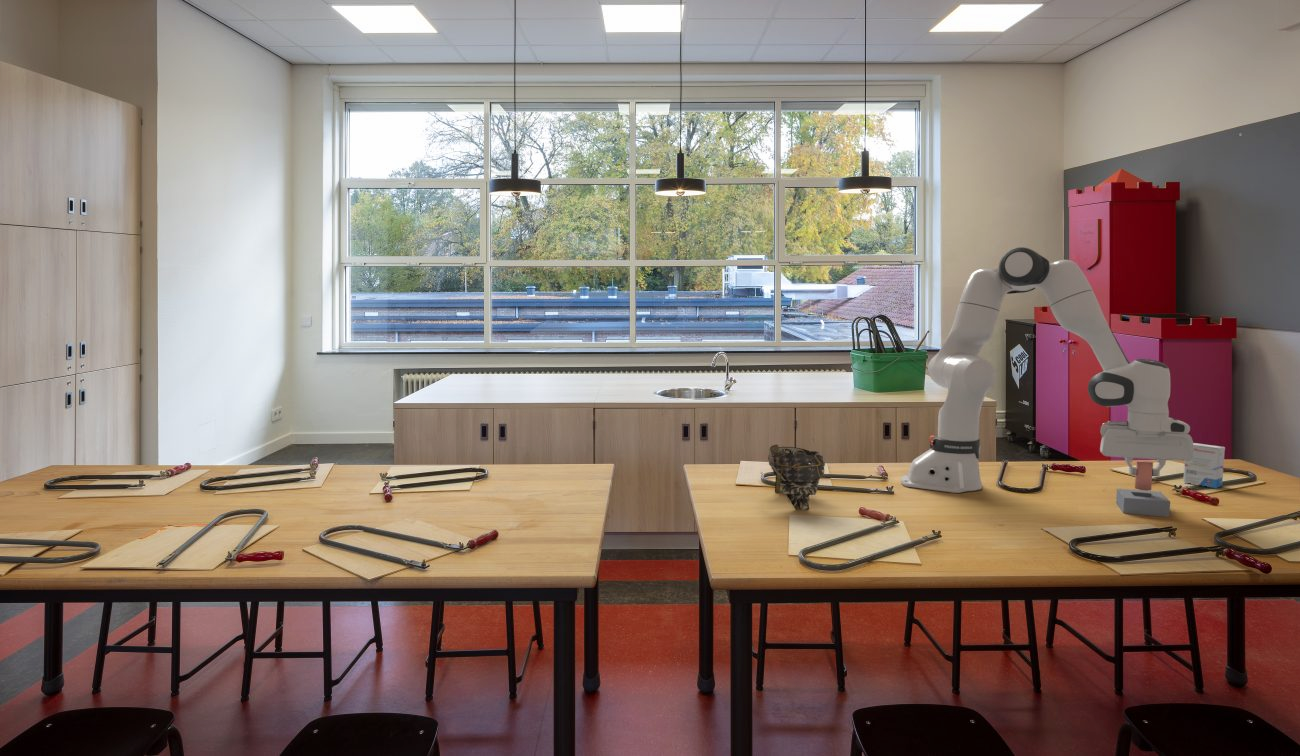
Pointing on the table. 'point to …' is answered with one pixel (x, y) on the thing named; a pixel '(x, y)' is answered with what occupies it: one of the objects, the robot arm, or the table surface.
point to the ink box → (1205, 466)
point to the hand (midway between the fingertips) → (1144, 475)
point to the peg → (1144, 475)
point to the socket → (1143, 502)
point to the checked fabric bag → (796, 473)
